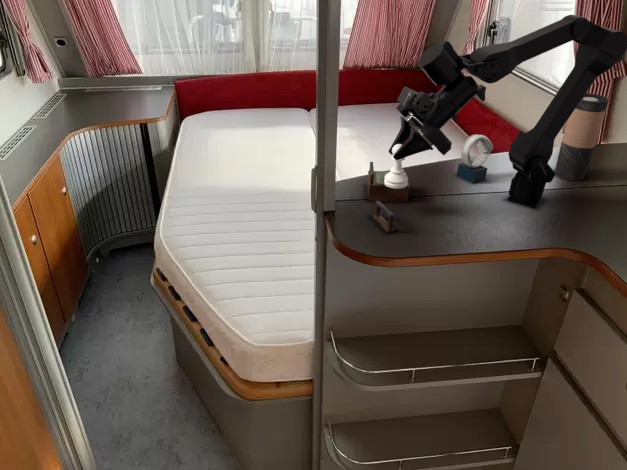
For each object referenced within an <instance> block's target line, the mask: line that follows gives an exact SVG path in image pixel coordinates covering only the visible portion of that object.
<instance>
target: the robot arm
mask: <svg viewBox="0 0 627 470" xmlns="http://www.w3.org/2000/svg"><path fill="white" fill-rule="evenodd" d="M626 34H627V33H625V32H623V31H620V30H616V29H613V28H608V27H605V26H601V25H598V24H595V23H593V22H592V21H590V20H588V19H587V18H586V17H584V16H580V15H576V14H568V15H565V16H563V17H562V18H561V19H559V20H557V21H555V22H552V23H550V24H548V25H545V26H544V27H541V28H538V29H537V30H534V31H532V32H530V33H527V34H525V35H523V36H520V37H518V38H516V39H514V40H512V41H508V42H501V43H493V44H489V45H484V46H481V47H477V48H476V49H474V50H473V51H471V52H470V53H467V54H461V55H459V54H458V53H457V51H456V50H455V49H454V46H453V45H452V44H451V42H450V41H449V40H447V39H443V40H442V41H441V42H440V43H437V44H435V45H433V46H431V47H430V48H428V49H426V50H425V51H424V52H423V53H422V54H421V56H420V57H419V59H418V62H417V65H418V67H419V68H420V69H421V70H422V71H423V72H424V73H425V75H426V76H427V77H428V79H430V80H431V82H432V83H433V84H434V85H435V86H437V87H441V86H443V87H442V88H440V90H439V91H438V92H436V93H435V92H429V93H425V92H423V91H419V92H418V91H416V90H414V89H412V88H409V87H408V86H404V87H403V88H402V90H401V92H400V94H399V96H398V98H397V100H396V101H397V103H399V104H398V105H397V106H396V107H395V110H397V112H399V113H400V117H399V119H400V129H399V131H398V133H397V134H396V137H395V139H394V140H393V141H392V143H391V146H390V147H389V149H388V153H389V154H390V155H392V156H393V153H392V148H393V147H394V146H395V145H396V144H402V146H401V147H400V148H399V149H398V150H397V152H396V153H395V154H394V156H393V158H394V159H395V160H399V159H402V158H405V159H406V158H407V157H410V156H413V155H416V154H420V153H423V152H426V151H429V150H430V151H434V148H436V150H437V151H438V152H439V153H440V154H441V155H443V156H445V155H446V154H447V153H449V152H450V151H451V150H452V145H453V142H452V141H451V140H450V139H449V138H448V137H447V135H445V132H443V131H442V130H441V129H442V128H443V127H444V126H445V125H446V124H447V123H449V121H451V120H452V121H453V122H455V121H456V120H457V119H458V118H459V117H458V116H457V114H458V113H459V112H460V111H461V110H462V109H463V108H464V107H465V106H466V105H467V104H468V103H469V102H470V101H471V100H472V99H474V98H476V99H478V100H479V101H481V102H485V100H486V90H487V87H486V86H484V85H483V84H479V83H478V82H477V81H476V79H478V80H480V81H482V82H484V83H487V84H495V83H497V82H499V81H500V80H502V79H503V78H505V77H507V76H508V75H510V74H511V73H513V72H514V70H515V69H516V68H517V67H518V66H519V65H521V64H523V63H524V62H526V61H528V60H531V59H534V58H536V57H539V56H541V55H543V54H545V53H547V52H550V51H551V50H553V49H557V48H558V47H561V46H563V45H565V44H569V43H570V42H572V41H573V42H575V43H576V44H579V45H578V48H577V50H576V53H575V59H574V66H573V67H572V69H571V71H570V73H569V74H568V76H567V77H566V78H565V80H564V82H563V83H562V84H561V86H560V88H559V89H558V91H557V92H556V94H555V95H554V97H553V98H552V100H551V101H550V103H549V104H548V105H547V107H546V108H545V110H544V112H543V113H542V115H541V116H540V117H539V119H538V121H537V122H536V124H535V125H534V126H533V128H531V129H530V130H528V131H526V132H525V131H523V130H520V131H518V133H517V135H516V136H515V138H514V140H513V141H512V142H511V144H509V147H510V149H509V151H508V159H509V161H510V163H511V164H512V169H513V170H514V171H516V172H515V174H514V176H513V177H512V178H511V182H510V186H509V189H508V190H509V191H508V197H507V201H509V202H512V203H515V204H519V205H522V206H526V207H529V208H532V209H536V208H537V207H538V206H539V205H540V204H541V203H542V202H543V201H544V199H545V197H544V192H545V188H546V184H548V183H551V182H552V181H553V180H554V178H555V176H557V175H556V174H555V170H554V169H553V168H552V167H551V166H550V164H549V162H550V159H551V158H552V155H553V152H554V145H555V141H556V138H557V136H558V134H559V133H560V132H561V130H562V129H563V127H565V125H566V124H567V121H568V119H569V117H570V116H571V114H572V113H573V111H574V110H575V108H576V107H577V105H578V104H579V103H580V101H581V100H582V98H583V97H584V95H585V94H586V93H588V91H589V90H590V88H591V87H592V85H593V84H594V82H595V81H596V79H597V78H598V77H600V76H601V75H603V74H604V73H606V72H608V71H609V70H611V69H612V68H613V67H614V66H615V65H616V64H617V63H618V62H619V61H620V60H621V58H622V57H623V56H624V55H625V54H626V52H627V35H626ZM463 71H464V72H466V73H468V74H470V75H465V74H464V73H463ZM473 77H475V78H476V79H474V78H473ZM433 146H434V147H433Z"/></svg>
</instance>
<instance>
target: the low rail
mask: <svg viewBox="0 0 627 470" xmlns="http://www.w3.org/2000/svg"><path fill="white" fill-rule="evenodd" d="M381 212H383V214H385V215H386V217H387V218H388V219H386V218H384V216H383V215H382V214H381ZM394 218H395V213H393V212H392V211H391V210H390V209H389V208H387V207H386V205H384V204H383V202H382V201H375V208H374V214H372V219H373V220H374V221H375V222H376V223H377V224H378V225H379V226H380V227H381V228H382V229H383V230H384V231H385V232H386V233H387V234H389V233H394V232H395V228H394Z"/></svg>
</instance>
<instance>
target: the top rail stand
mask: <svg viewBox="0 0 627 470" xmlns="http://www.w3.org/2000/svg"><path fill="white" fill-rule="evenodd" d="M374 167H375V166H374V161H370V162H369V170H368V171H367V181H366V182H367V183H366V190H367V191H366V192H367V193H366V194H367V201H369V202H376V201H380V202H391V203H408V202H409V194H410V183H409V181H408V184H407V186H406V187H405V188H401V189H394V188H390V187H387V186H386V185H385V184H384V180H385V175H386V174H388V173H389V172H390V171H388V170H387V171H386V170H375V168H374ZM403 173H404V174H405V175H406V176H407V177H408V174H407V172H405V171H404V172H403Z"/></svg>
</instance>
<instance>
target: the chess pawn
mask: <svg viewBox="0 0 627 470" xmlns="http://www.w3.org/2000/svg"><path fill="white" fill-rule="evenodd" d="M401 146H402V144H396V145H395V146H394V147H393V148H392V153H393V155H392V156H391V158H390V159H391V160H393V164H392V167H391V168H390V169H389V171H388V172H389V173H388V174H386V175H385V180H384V184H385V185H386V186H387V187H390V188H394V189H401V188H405V187H406V186H407V184H408V182H409V177H408V175H407V176H406V175H405V174H404V173H403V172H405V169H403V165H402V164H403V163H402V161H405V160H406V157H405V158H402V159H399V160H395V159H394V158H393V156H394V154H395V153H396V152H397V150H398V149H399V148H400V147H401Z"/></svg>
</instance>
